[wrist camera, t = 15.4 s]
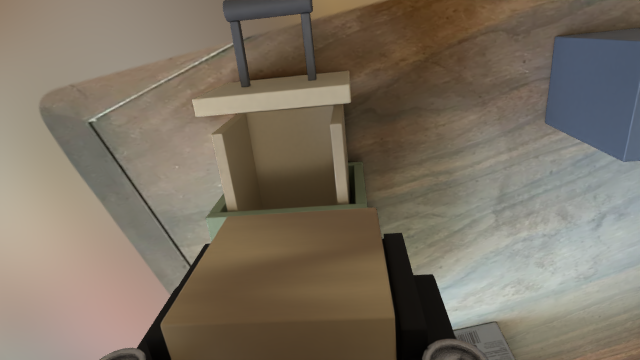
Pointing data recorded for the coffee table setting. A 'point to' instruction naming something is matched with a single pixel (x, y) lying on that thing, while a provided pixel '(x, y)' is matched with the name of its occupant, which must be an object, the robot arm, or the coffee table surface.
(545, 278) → the coffee table surface
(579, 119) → the stand
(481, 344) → the coffee box
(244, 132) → the drawer
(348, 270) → the block
